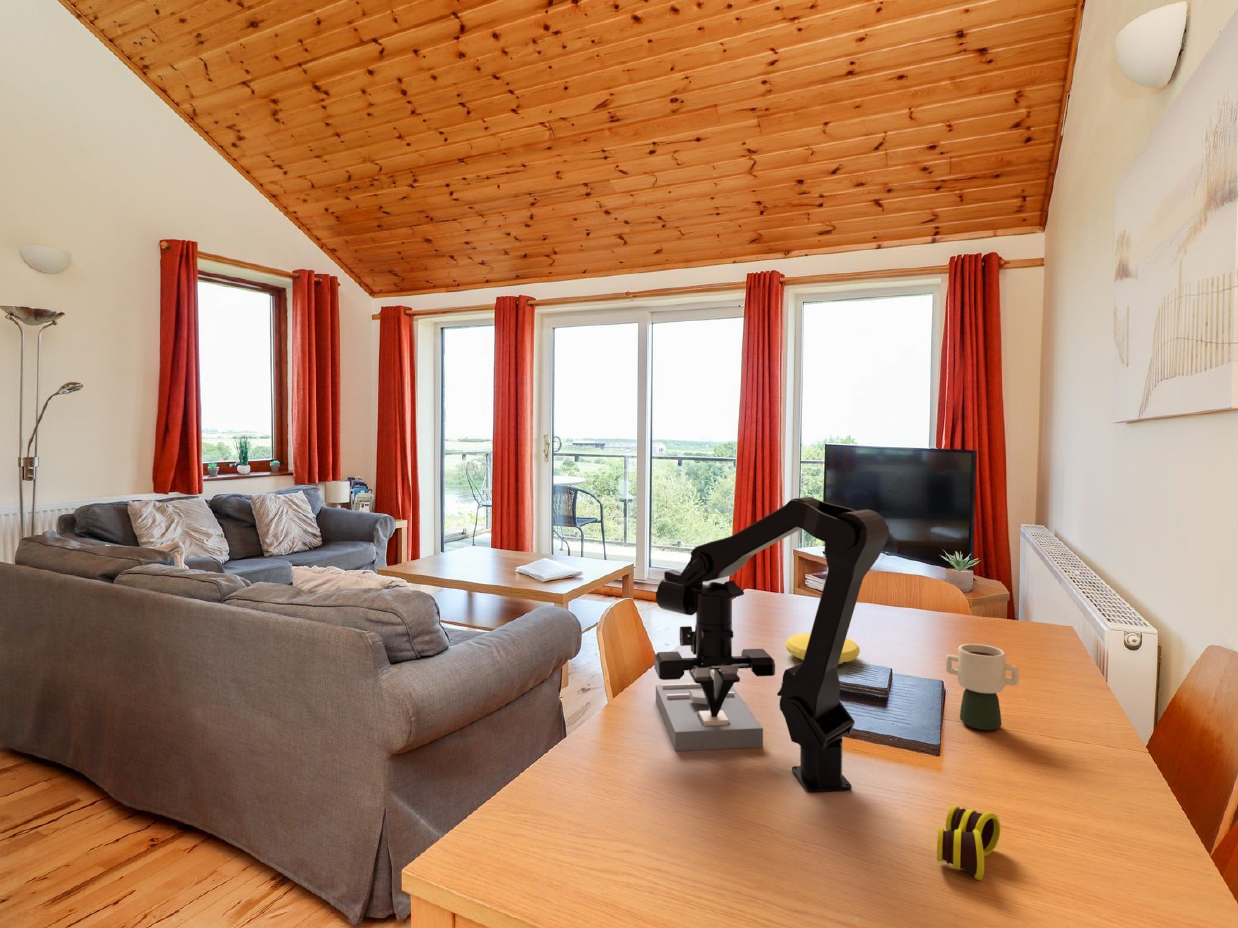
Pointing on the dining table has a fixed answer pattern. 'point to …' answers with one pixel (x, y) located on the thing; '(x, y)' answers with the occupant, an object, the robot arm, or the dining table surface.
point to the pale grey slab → (697, 696)
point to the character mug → (981, 683)
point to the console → (694, 736)
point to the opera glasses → (968, 839)
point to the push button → (713, 718)
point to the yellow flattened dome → (800, 642)
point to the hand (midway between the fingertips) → (713, 715)
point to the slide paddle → (712, 675)
